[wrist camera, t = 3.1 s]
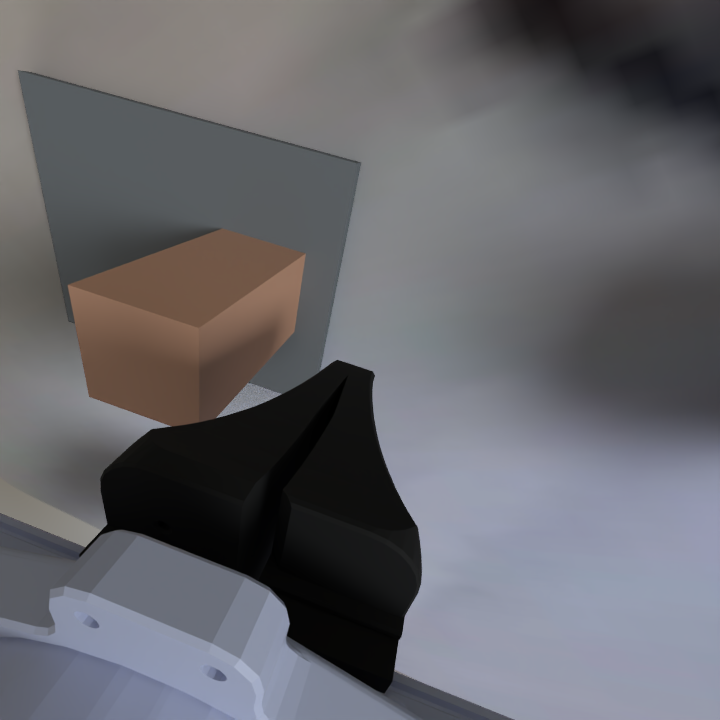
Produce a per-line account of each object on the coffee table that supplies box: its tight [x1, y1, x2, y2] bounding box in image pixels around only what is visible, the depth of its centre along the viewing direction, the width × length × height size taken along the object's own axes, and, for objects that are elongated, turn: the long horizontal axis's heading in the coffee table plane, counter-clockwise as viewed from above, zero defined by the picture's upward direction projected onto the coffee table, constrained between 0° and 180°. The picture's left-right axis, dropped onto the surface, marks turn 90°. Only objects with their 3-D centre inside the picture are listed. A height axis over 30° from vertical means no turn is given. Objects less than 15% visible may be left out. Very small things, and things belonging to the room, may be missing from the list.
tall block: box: [68, 229, 306, 426], centre depth 15 cm, size 4×4×8 cm
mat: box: [18, 70, 361, 394], centre depth 19 cm, size 12×15×1 cm
